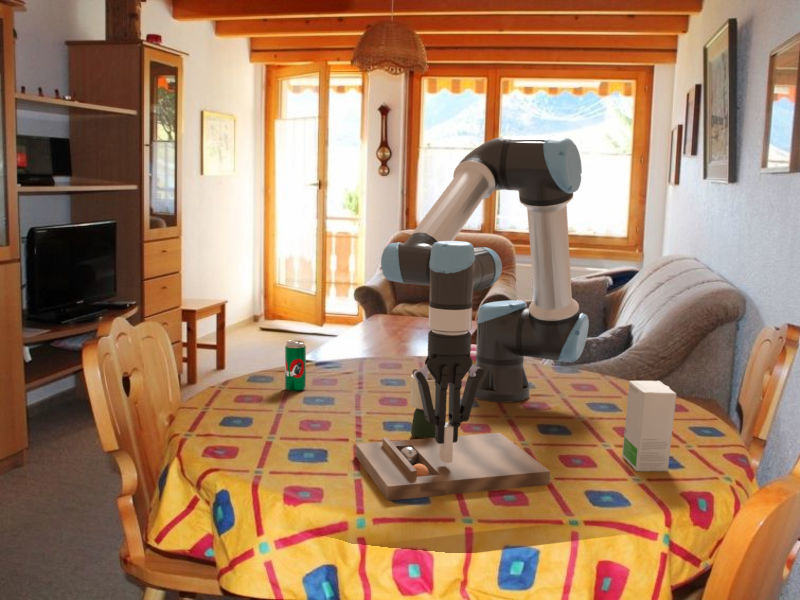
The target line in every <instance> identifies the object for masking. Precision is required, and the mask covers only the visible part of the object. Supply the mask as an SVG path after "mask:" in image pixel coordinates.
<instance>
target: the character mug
mask: <svg viewBox="0 0 800 600" xmlns="http://www.w3.org/2000/svg"><path fill="white" fill-rule="evenodd" d="M427 382H428V385H429V389H430V394H431V399H432V403H433V408H434V413H435V393H436V386H435V379H434V378H433V376H432V375H431V374H430V372H429V371H428V379H427ZM409 388H410V391H409V392H410V393H409V404H410V406H411V407H412V408H415V410H414V411H413V416H412V417H413V418H412V424H411V429H410V430H411V432H410V434H411V436H413V437H415V438H421V439H426V438H435V424H431V423H429V422H428V421H427V420H426V418H425V414H424V410H423V405H422V400H421V396H420V391H419V386H418V382H417V380H416V379H415V377H414V376H413V374H411V375H410V387H409Z"/></svg>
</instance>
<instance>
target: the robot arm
mask: <svg viewBox="0 0 800 600" xmlns="http://www.w3.org/2000/svg"><path fill="white" fill-rule="evenodd" d="M582 169H583V167H582V160H581V155H580V151H579V148H578V147H577V145H576V144H575V142H574V141H573V140H572V139H571V138H570V137H569V138H568V137H565V136H554V135H536V136H535V135H534V136H532V135H531V136H529V135H527V136H525V135H524V136H523V135H522V136H521V135H519V136H512V135H502V136H499V137H498V136H497V137H495V138H492V139H490V140H488V141H486V142H484V143H482V144H480V145H479V146H477V147H476V148H474V149H472V151H470V152H469V153H467V155H465V157H463V158H462V160H461V161H460V162H459V163H458V165H457V166H456V167H455V169H454V171H453V174H452V175H453V179H452V180H451V181H450V183H449V184H448V185H447V187H446V188H445V190H443V192H442V193H441V195H440V196H438V199H437V200H436V201H435V202H434V204H433V206H432V207H431V208H430V209H429V210H428V212H427V213H426V214H425V215H424V217H423V218H422V220H421V221H420V222H419V223H418V225H417V226H416V227H415V229H414V230H413V231H412V233H411V234H410V236H409V237H408V238H407V239H406V240H405V242H403V243H402V242H400V241H398V242H392V243H388V244H387V245H386V246H384V249H383V251H382V254H381V259H380V268H381V271H382V275H383V276H384V278H385V279H386V280H387V281H390V282H396V283H400V284H404V285H407V284H408V285H409V284H410V285H419V286H429V301H428V303H429V304H428V328H429V329H430V330H429V332H428V334H427V357H426V359H425V360H424V364H423V366H421V367H420V368H418V369H413V370H412V372H411V373H412V374H413V376H414V377H415V379H416V380H417V382H418V386H419V391H420V396H421V400H422V405H423V410H424V414H425V418H426V420H427V421H428V422H429V423H431V424H435V440H436V442H437V443H438V444H440V451H439V458H440V459H441V460H442V461H443V462H444V463H448V462H452V455H453V443H454V442H457V440H458V436H459V427H460V426H461V425H462V423H463V422H468V421H469V419H470V416H471V412H472V408H473V405H474V401H475V399H478V400H480V401H481V400H483V401H487V402H493V403H494V402H497V403H511V402H512V403H513V402H520V401H524V400H527V399H528V398H529V397H530V384H529V379H528V377H527V374H526V370H525V366H524V365H525V364H524V361H525V360H524V358H525V357H528V358H535V359H543V360H549V361H550V360H551V361H557V362H558V363H560V362H566V363H574V362H576V361H578V359H579V358H580V357H581V355H582V354H583V351H584V349H585V345H586V341H587V338H588V333H589V324H590V323H589V322H590V320H589V316H588V315H587V314H585V313H583V312H581V313H580V305H579V303H578V301H576V300H575V299H574V298H573V297H572V296H573V295H572V280H571V279H572V277H571V262H570V261H571V260H570V259H571V257H570V240H569V226H568V225H569V224H568V223H569V222H568V220H569V219H568V206H567V204H568V203H570V201H572V199H573V198H574V193H576V192H577V191H578V190H579V188H580V187H581V182H582V174H583V173H582V172H583V170H582ZM507 190H508V191H517V192H518V195H519V196H518V197H519V202H520V203H521V205H523V206H524V207H526V210H527V222H528V223H527V224H528V236H529V248H530V249H529V250H530V262H531V274H532V285H533V288H532V289H533V301H532V302H531V303H529V306H528V304H527V302H526V301H525V300H517V299H515V300H512V299H511V300H509V299H508V300H499V301H497V300H496V301H491V302H487V303H484V304H482V305H481V306H479V308H478V313H477V321H476V345H477V348H476V364H475V365H474V364H473V361H472V359H471V356H470V352H471V344H472V334H471V332H470V330H472V328H473V297H474V296H473V294H474V292H476V291H479V290H485V289H487V288H489V287H490V286H492V285H494V284H495V283H496V282H497V281H498V280H499V279H500V277H501V275H502V272H503V264H502V260H501V258H500V256H499V254H498V253H497V252H496V251H495V250H493V248H492V249H491V248H489V247H485V246H484V247H483V246H482V247H480V246H475V247H474V246H473V244H472V243H471V242H468V241H462V240H461V241H460V240H456V238H457V237H458V235H459V233H460V232H461V231H462V229H463V228H464V226H465V225H466V224H467V222H468V221H469V219H470V218H471V217H472V215H473V214H474V212H475V210H476V209H477V208H478V207H479V205H480V203H481V202H482V201H483V200H486V199H488V198H489V197H490V196H492V194H494V192H495V191H507ZM428 372H430V374H431V375H432V376H433V378H434V379H435V386H436V393H435V413H434V408H433V403H432V399H431V394H430V389H429V385H428V382H427V379H428ZM412 374H411V375H412ZM466 374H468V376H467V378H466V382H465V384H464V390H463V393H462V397H461V389H462V382H463V381H462V380H463V379H464V378H465V376H466ZM447 390H448V392H447ZM447 395H448V415H447ZM447 416H448V419H447ZM447 420H448V422H447Z"/></svg>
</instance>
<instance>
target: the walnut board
mask: <svg viewBox="0 0 800 600" xmlns="http://www.w3.org/2000/svg"><path fill="white" fill-rule="evenodd" d="M405 447H412V448H414V449H415V450H416V452H417V460H416V462H415V463H416V464H423V465H425V466H426V467H427V469H428V472H429V475H428V476H421V477H417V470H416V469H415V468H414V467H413V464H412V465H411V464H410V462H409V461H408V460H407V459H406V458H405V457H404V456H403V454H402V453H401V450H402V449H403V448H405ZM439 451H440V444H438V443H437V442H436V440H435V438H418V439H417V438H416V439H401V440H390V438H388V437H382V441H377V442H376V441H375V442H363V443H362V442H361V443H355V457H356V459H357V460H358V461H359V463H360V464H361V466H362V468H364V470H365V471H366V473H367V474H368V475H369V477H370V478H371V480H372V481H373V482H374V484H375V486H376V487H377V488H378V489H379V491H380V492H381V493H382V495H383V496H384V498H385V499H386V500H387V501H399V500H408V499H417V498H418V499H419V498H429V497H430V498H431V497H436V496H449V495H450V496H451V495H459V494H460V495H461V494H468V493H478V492H480V493H481V492H486V491H487V492H488V491H490V492H491V491H499V490H508V489H519V488H526V487H527V488H529V487H539V486H548V485H550V483H551V482H550V481H551V479H550V478H551V470H549V469H548V468H547V467H545V466H544V465H542V463H540V461H537V460H536V459H535V458H534V457H532V456H531V455H530V454H528V453H527V452H526V451H524V450H523V449H522V448H521V447H519V446H518V445H517V444H516V443H514V442H513V441H512V440H510V439H509V438H508V437H506V436H505V435H503V434H502V433H501V432H494V433H490V432H489V433H479V434H467V435H458V440H457V442H454V443H453V455H452V462H448V463H444V462H443V461H442V460H441V459H440V458H439Z"/></svg>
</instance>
